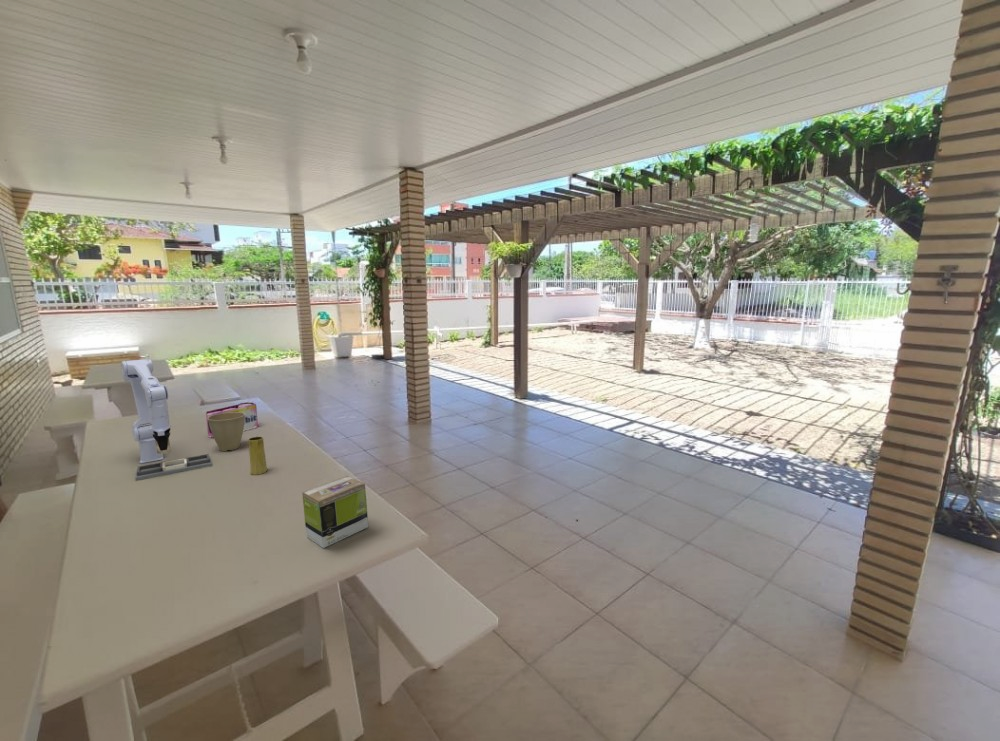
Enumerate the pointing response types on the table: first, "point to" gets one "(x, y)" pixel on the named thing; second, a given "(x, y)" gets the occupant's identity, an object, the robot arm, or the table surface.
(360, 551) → the table surface
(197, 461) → the gray compartment tray
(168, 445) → the beech pin
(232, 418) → the plant pot
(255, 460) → the vase
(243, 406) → the gum box
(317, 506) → the tea box
